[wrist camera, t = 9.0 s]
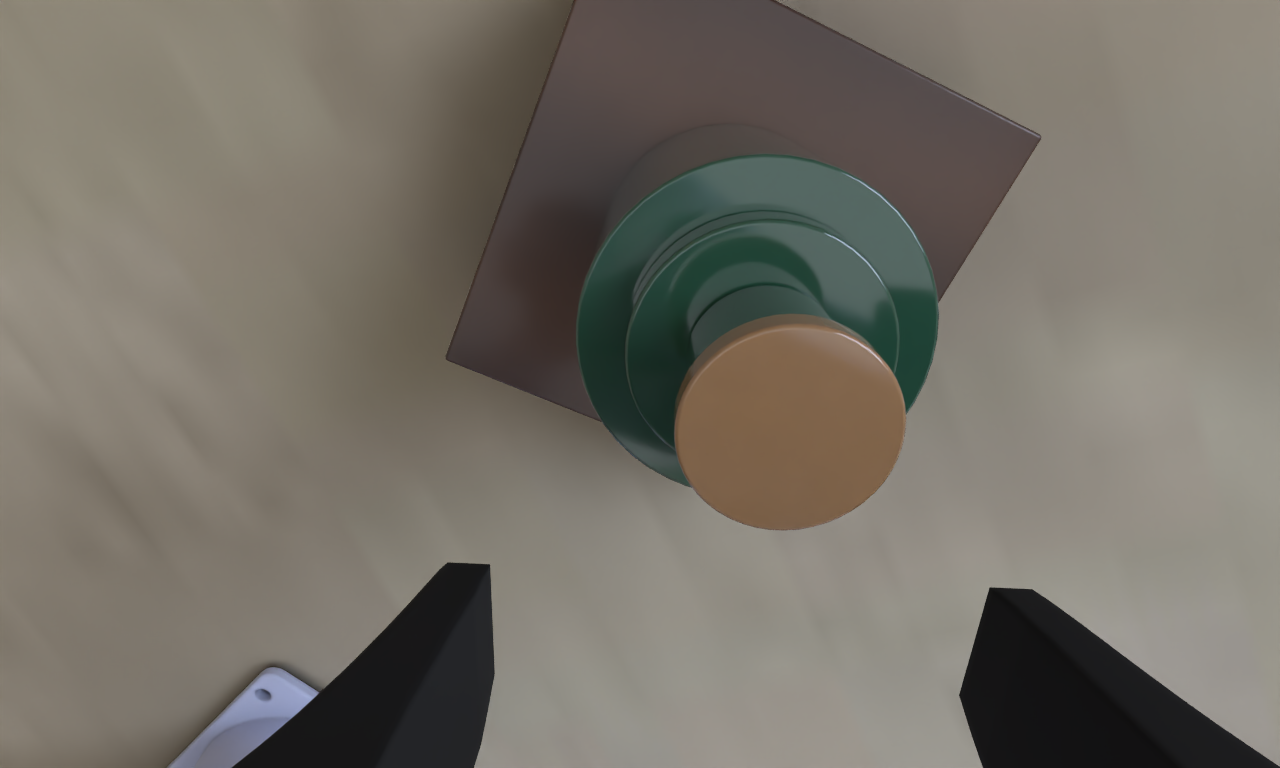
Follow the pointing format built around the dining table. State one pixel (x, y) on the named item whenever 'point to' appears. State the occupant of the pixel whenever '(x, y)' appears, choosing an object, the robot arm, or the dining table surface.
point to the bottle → (756, 325)
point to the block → (694, 97)
